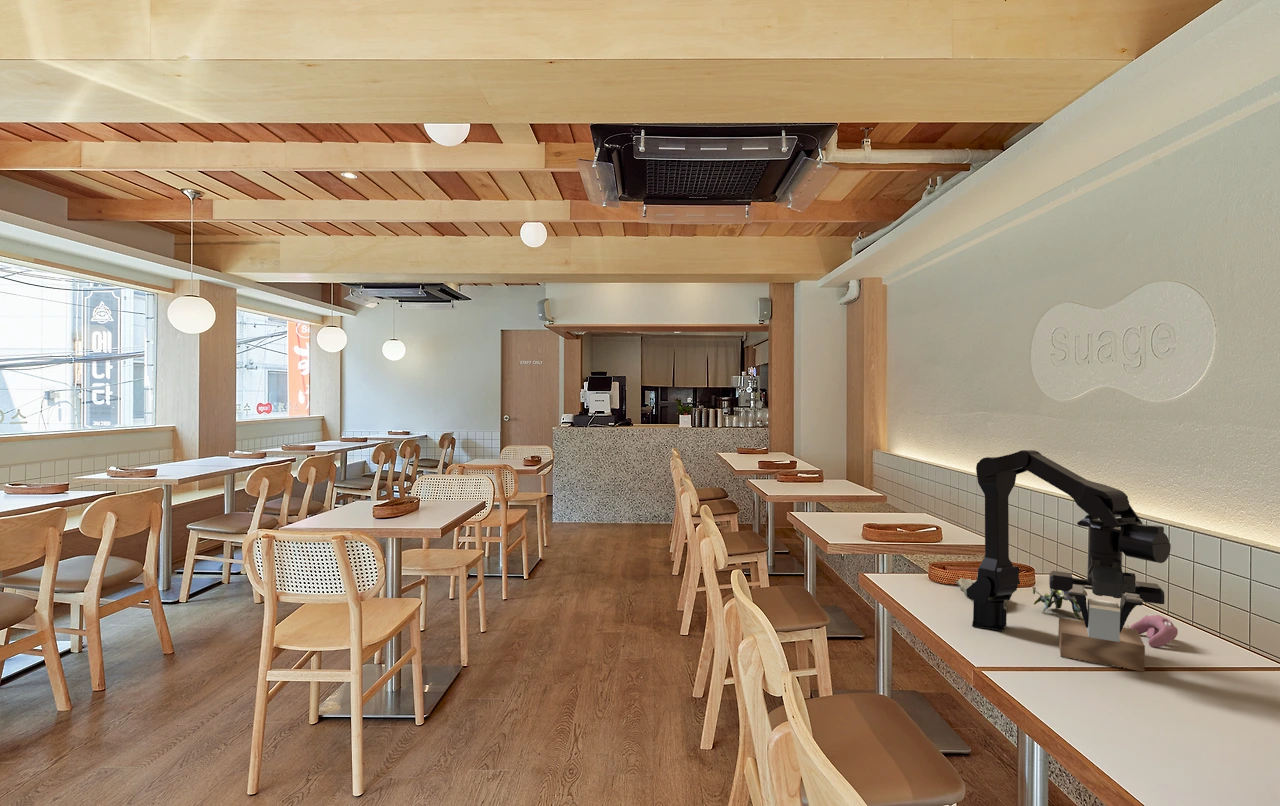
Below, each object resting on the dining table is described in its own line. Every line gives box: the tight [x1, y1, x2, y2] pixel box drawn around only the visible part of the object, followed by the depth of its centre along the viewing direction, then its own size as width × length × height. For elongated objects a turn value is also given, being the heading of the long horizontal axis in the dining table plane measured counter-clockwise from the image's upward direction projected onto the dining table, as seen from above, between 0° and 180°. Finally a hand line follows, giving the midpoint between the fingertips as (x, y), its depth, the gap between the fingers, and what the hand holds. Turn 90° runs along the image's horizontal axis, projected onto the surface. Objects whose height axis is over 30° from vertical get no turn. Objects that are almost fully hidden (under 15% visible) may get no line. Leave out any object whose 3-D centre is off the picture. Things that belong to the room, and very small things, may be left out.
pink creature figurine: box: [1128, 613, 1179, 648], centre depth 152 cm, size 10×5×7 cm, turn 169°
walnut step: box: [1057, 617, 1146, 673], centre depth 142 cm, size 14×12×5 cm
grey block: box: [1087, 598, 1120, 642], centre depth 136 cm, size 5×5×6 cm
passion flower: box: [1032, 586, 1088, 620], centre depth 170 cm, size 11×11×12 cm
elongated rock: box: [955, 578, 1009, 608], centre depth 188 cm, size 35×5×10 cm
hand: (1102, 629), depth 136 cm, fingers closed on grey block, 5 cm apart
